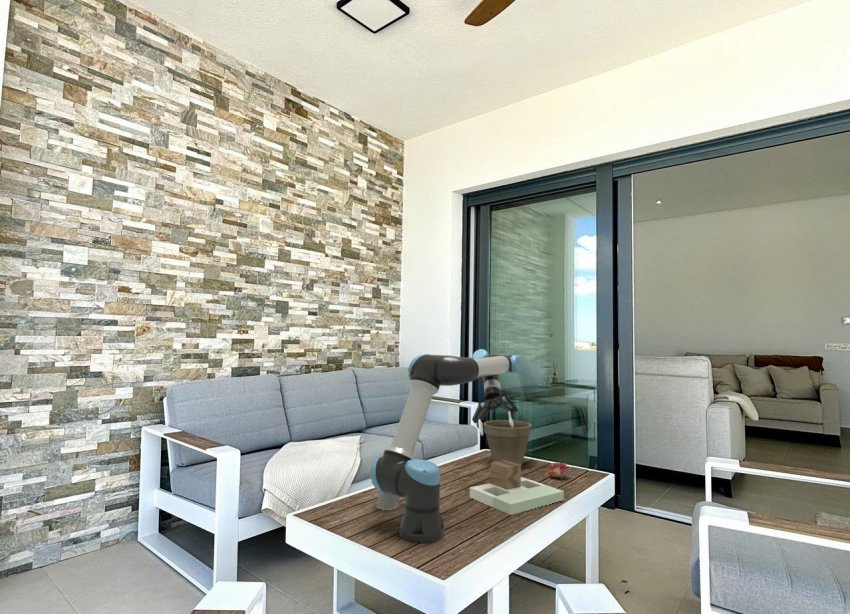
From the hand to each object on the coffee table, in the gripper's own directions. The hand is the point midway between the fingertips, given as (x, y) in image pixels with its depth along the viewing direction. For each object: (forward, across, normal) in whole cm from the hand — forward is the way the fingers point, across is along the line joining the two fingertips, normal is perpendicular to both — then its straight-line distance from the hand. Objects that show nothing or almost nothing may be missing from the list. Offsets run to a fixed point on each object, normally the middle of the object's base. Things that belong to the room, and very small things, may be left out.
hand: (496, 429), depth 202 cm
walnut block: (+12, +5, -22) cm, 25 cm away
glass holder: (+28, +43, +6) cm, 51 cm away
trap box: (+18, +2, -23) cm, 29 cm away
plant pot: (-23, +14, -56) cm, 62 cm away
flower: (-6, -11, -53) cm, 54 cm away
